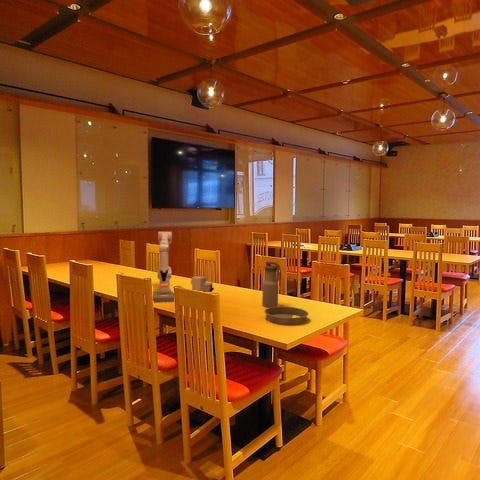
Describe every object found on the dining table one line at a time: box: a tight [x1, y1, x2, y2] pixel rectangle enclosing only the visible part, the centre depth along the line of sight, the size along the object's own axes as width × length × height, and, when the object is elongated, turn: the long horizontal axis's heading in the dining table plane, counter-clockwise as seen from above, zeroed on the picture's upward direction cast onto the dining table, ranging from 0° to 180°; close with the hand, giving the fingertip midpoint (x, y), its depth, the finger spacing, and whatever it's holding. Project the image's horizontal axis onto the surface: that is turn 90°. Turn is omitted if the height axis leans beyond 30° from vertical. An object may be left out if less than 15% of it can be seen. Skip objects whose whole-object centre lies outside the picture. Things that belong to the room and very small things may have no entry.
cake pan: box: [263, 305, 309, 326], centre depth 223 cm, size 25×25×4 cm
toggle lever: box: [161, 284, 168, 294], centre depth 265 cm, size 2×5×7 cm, turn 102°
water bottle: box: [261, 260, 281, 308], centre depth 251 cm, size 10×10×28 cm
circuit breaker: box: [190, 275, 215, 293], centre depth 264 cm, size 8×14×15 cm, turn 78°
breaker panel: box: [152, 288, 175, 303], centre depth 265 cm, size 18×18×6 cm
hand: (163, 281), depth 272 cm, fingers closed
